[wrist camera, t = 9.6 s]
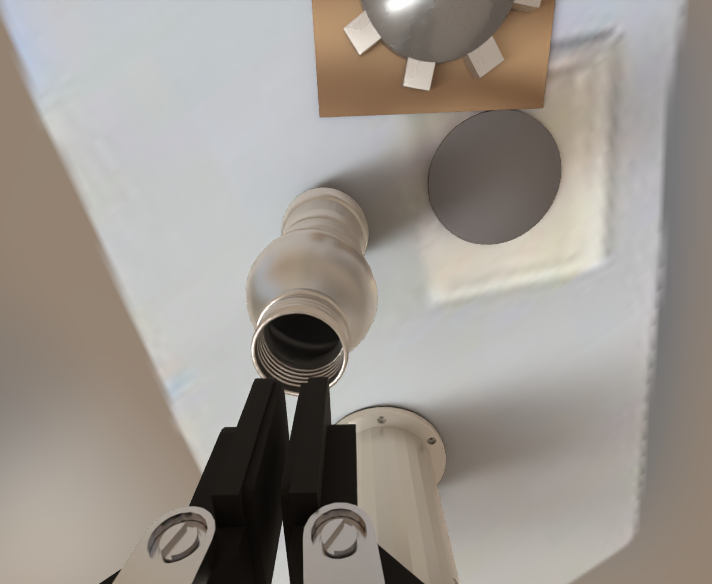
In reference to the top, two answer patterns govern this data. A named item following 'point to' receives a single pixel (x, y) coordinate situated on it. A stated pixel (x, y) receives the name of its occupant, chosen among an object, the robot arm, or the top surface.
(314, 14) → the base plate
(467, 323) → the top surface
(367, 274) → the plastic bottle
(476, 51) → the sprocket
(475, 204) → the pad
